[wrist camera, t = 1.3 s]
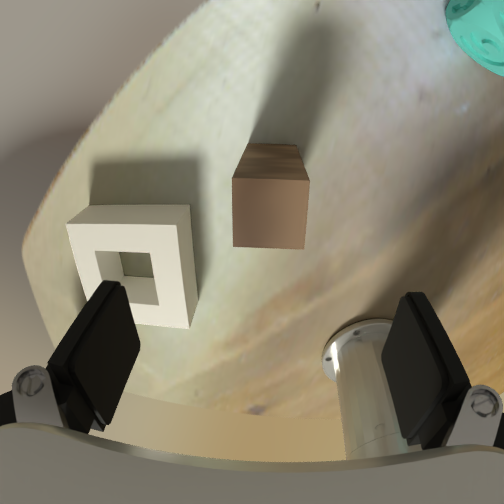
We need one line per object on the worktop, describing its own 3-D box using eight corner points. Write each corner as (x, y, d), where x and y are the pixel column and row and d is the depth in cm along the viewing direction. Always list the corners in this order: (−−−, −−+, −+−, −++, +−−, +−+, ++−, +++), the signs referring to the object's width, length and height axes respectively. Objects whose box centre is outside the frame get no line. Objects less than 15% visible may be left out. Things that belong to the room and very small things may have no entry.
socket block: (189, 204, 32) (176, 225, 27) (198, 300, 37) (189, 328, 33) (89, 205, 32) (65, 223, 28) (109, 293, 38) (92, 317, 34)
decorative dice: (511, 30, 18) (557, 28, 12) (488, 77, 22) (536, 82, 15) (460, -20, 17) (502, -36, 10) (434, 25, 21) (478, 14, 14)
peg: (295, 144, 28) (309, 180, 18) (293, 189, 30) (304, 249, 20) (247, 143, 28) (232, 178, 18) (247, 188, 30) (233, 246, 20)
